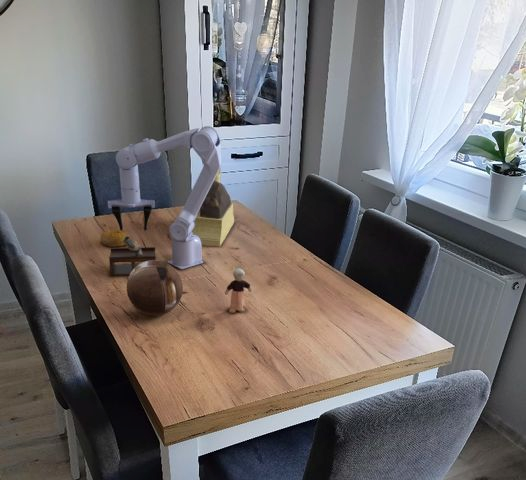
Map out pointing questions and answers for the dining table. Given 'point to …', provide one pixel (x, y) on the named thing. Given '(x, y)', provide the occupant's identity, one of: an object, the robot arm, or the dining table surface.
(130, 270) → the shelf
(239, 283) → the grandmother figurine
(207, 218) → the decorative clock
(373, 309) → the dining table surface
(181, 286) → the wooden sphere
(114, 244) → the bagel
